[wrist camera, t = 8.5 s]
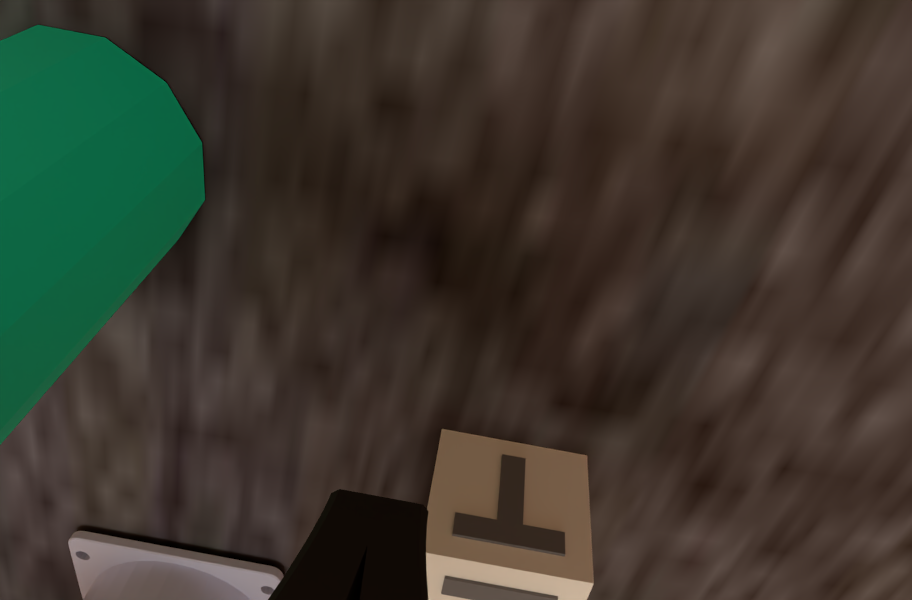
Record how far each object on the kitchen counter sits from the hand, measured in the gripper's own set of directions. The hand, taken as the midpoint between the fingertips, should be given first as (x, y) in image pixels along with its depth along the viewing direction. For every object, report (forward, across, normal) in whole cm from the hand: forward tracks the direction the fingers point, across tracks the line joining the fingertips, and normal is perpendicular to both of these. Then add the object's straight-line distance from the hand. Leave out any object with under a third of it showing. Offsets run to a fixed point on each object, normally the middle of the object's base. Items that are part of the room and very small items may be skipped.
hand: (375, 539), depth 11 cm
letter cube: (+9, -3, +9) cm, 13 cm away
